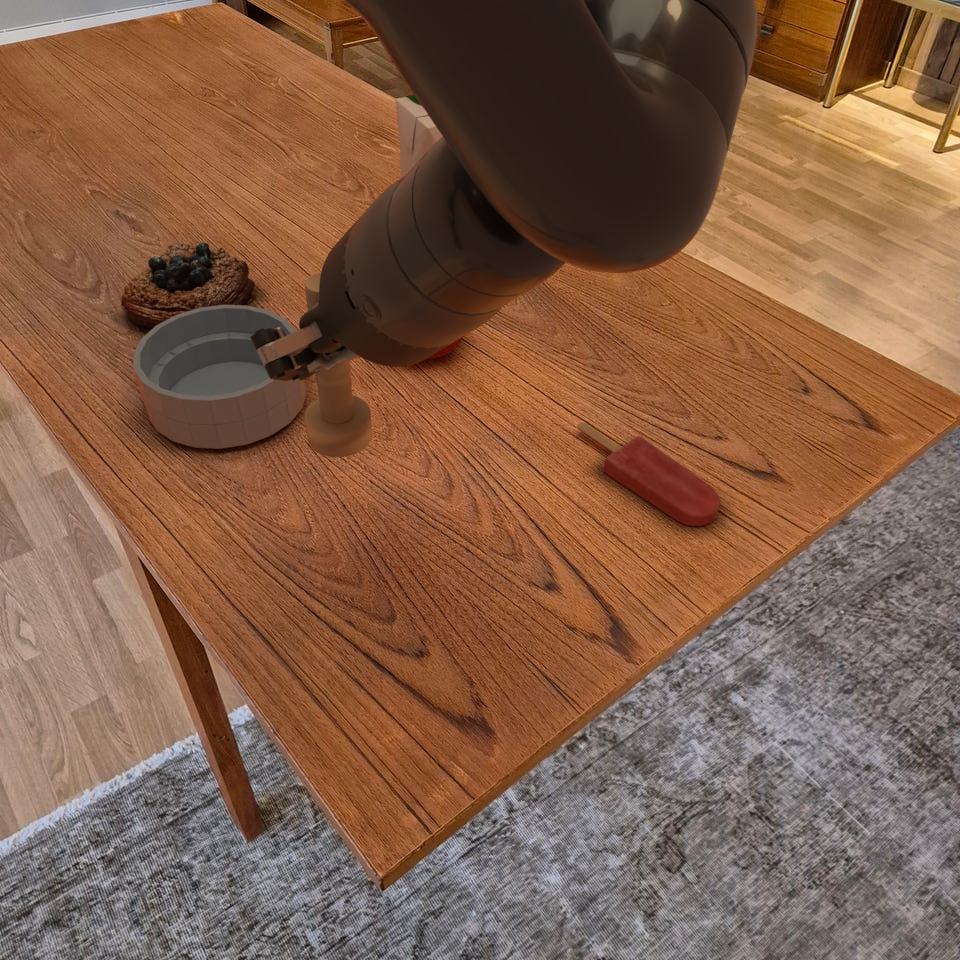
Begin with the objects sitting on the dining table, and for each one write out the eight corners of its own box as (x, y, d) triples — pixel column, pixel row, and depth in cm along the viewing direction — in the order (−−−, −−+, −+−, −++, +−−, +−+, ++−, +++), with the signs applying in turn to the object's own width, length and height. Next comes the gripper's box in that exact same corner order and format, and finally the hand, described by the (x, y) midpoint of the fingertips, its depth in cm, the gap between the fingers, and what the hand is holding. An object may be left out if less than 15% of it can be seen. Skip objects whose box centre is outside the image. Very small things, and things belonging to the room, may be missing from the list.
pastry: (267, 287, 97) (259, 238, 93) (210, 348, 88) (199, 297, 84) (177, 269, 99) (166, 220, 95) (114, 327, 91) (98, 276, 86)
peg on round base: (325, 466, 58) (305, 310, 50) (296, 429, 61) (273, 275, 53) (384, 443, 60) (374, 288, 52) (353, 408, 63) (340, 256, 55)
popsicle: (596, 406, 80) (732, 496, 73) (594, 420, 82) (727, 511, 74) (562, 427, 78) (698, 522, 70) (560, 442, 79) (694, 537, 72)
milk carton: (462, 240, 105) (464, 63, 91) (498, 277, 99) (507, 94, 85) (394, 256, 102) (385, 76, 88) (427, 295, 96) (424, 109, 82)
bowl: (182, 475, 75) (166, 420, 71) (128, 387, 84) (111, 333, 79) (333, 418, 81) (326, 364, 77) (268, 341, 89) (259, 289, 85)
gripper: (499, 162, 46) (379, 271, 61) (257, 239, 39) (190, 340, 55) (559, 296, 46) (426, 371, 62) (331, 394, 40) (244, 451, 55)
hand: (315, 356), depth 58 cm, fingers closed on peg on round base, 2 cm apart
